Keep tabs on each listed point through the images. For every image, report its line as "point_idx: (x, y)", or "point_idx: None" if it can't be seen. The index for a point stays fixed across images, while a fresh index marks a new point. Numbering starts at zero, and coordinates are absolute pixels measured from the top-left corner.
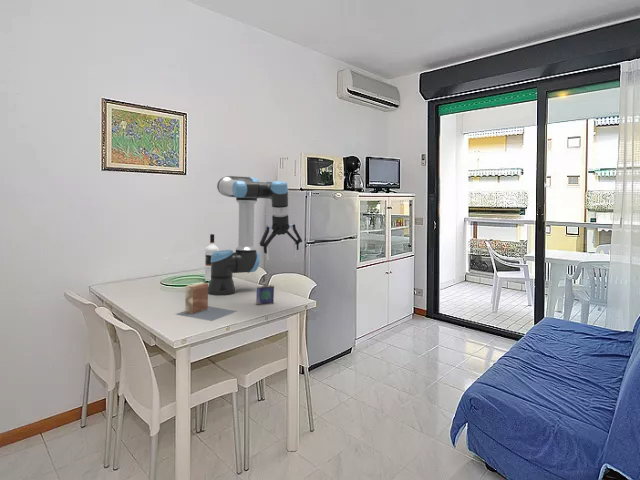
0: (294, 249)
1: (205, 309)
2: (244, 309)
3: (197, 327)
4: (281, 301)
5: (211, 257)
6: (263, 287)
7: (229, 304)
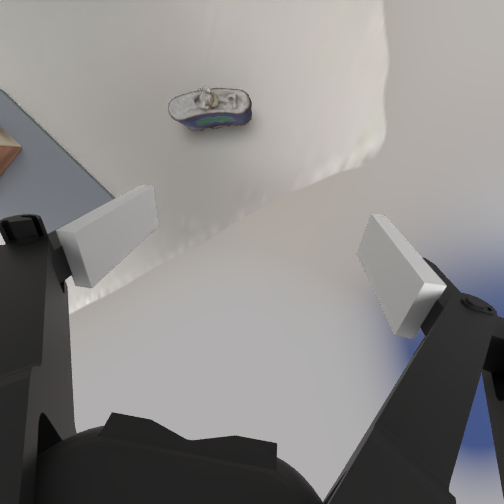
0: (381, 271)
1: (15, 153)
2: (140, 175)
3: None
4: (287, 101)
5: None
6: (198, 116)
7: (94, 88)
